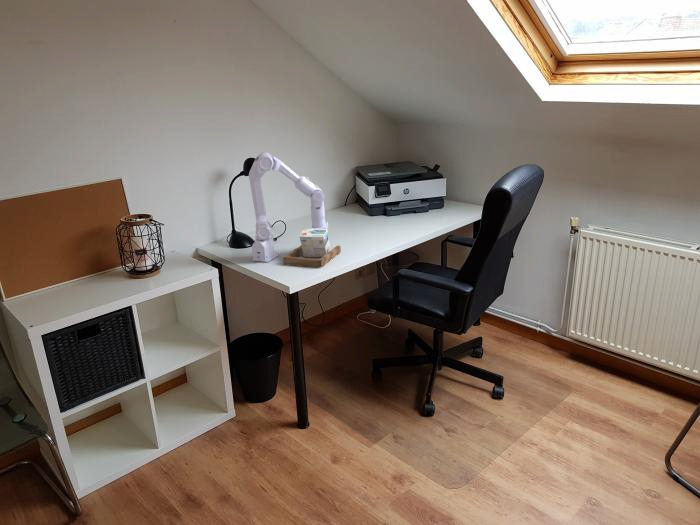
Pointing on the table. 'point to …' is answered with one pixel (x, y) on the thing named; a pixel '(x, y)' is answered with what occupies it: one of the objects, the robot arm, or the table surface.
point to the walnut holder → (296, 260)
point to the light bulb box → (315, 242)
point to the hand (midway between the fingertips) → (320, 247)
